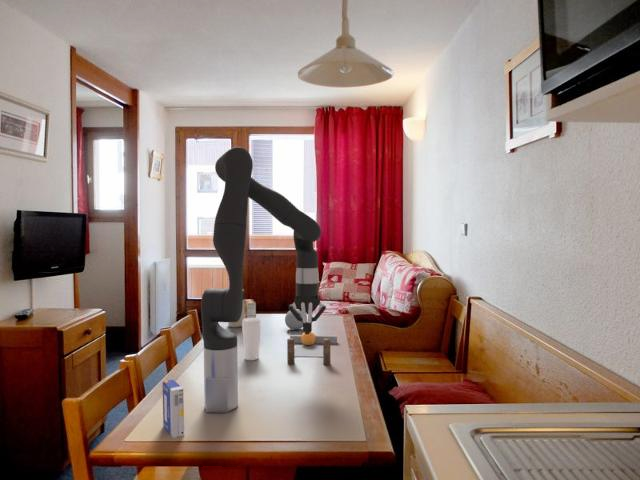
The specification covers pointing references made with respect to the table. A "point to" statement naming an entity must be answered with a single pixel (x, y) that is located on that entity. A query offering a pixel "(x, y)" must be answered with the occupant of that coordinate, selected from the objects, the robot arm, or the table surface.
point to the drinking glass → (251, 337)
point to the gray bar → (316, 338)
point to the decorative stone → (293, 321)
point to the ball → (308, 338)
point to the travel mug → (239, 323)
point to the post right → (326, 351)
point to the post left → (290, 351)
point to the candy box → (250, 308)
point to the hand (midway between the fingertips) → (307, 333)
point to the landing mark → (309, 351)
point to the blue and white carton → (173, 408)
